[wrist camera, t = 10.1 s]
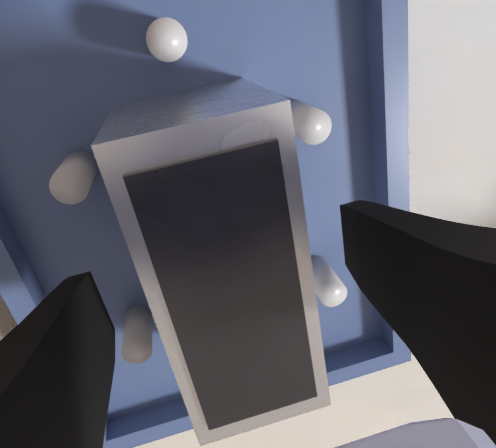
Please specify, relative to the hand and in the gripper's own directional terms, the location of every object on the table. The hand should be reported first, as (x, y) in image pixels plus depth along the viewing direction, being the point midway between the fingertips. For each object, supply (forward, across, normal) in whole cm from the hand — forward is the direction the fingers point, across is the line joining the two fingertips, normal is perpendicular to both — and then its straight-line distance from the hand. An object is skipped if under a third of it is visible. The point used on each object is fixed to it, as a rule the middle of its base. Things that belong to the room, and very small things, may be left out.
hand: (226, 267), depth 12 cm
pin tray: (+4, 0, 0) cm, 4 cm away
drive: (+3, 0, 0) cm, 3 cm away
